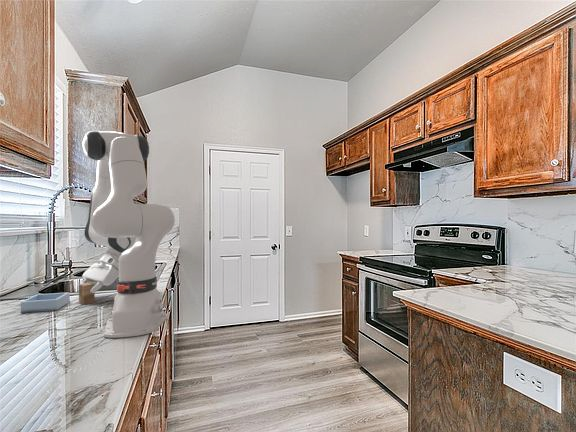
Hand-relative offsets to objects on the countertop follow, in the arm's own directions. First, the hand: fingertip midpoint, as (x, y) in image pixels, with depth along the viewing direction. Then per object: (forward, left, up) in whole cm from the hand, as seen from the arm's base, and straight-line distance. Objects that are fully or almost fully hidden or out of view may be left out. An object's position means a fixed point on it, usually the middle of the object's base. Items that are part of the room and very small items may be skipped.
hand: (85, 290), depth 133 cm
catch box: (-3, +13, -5) cm, 14 cm away
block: (0, 0, -5) cm, 5 cm away
